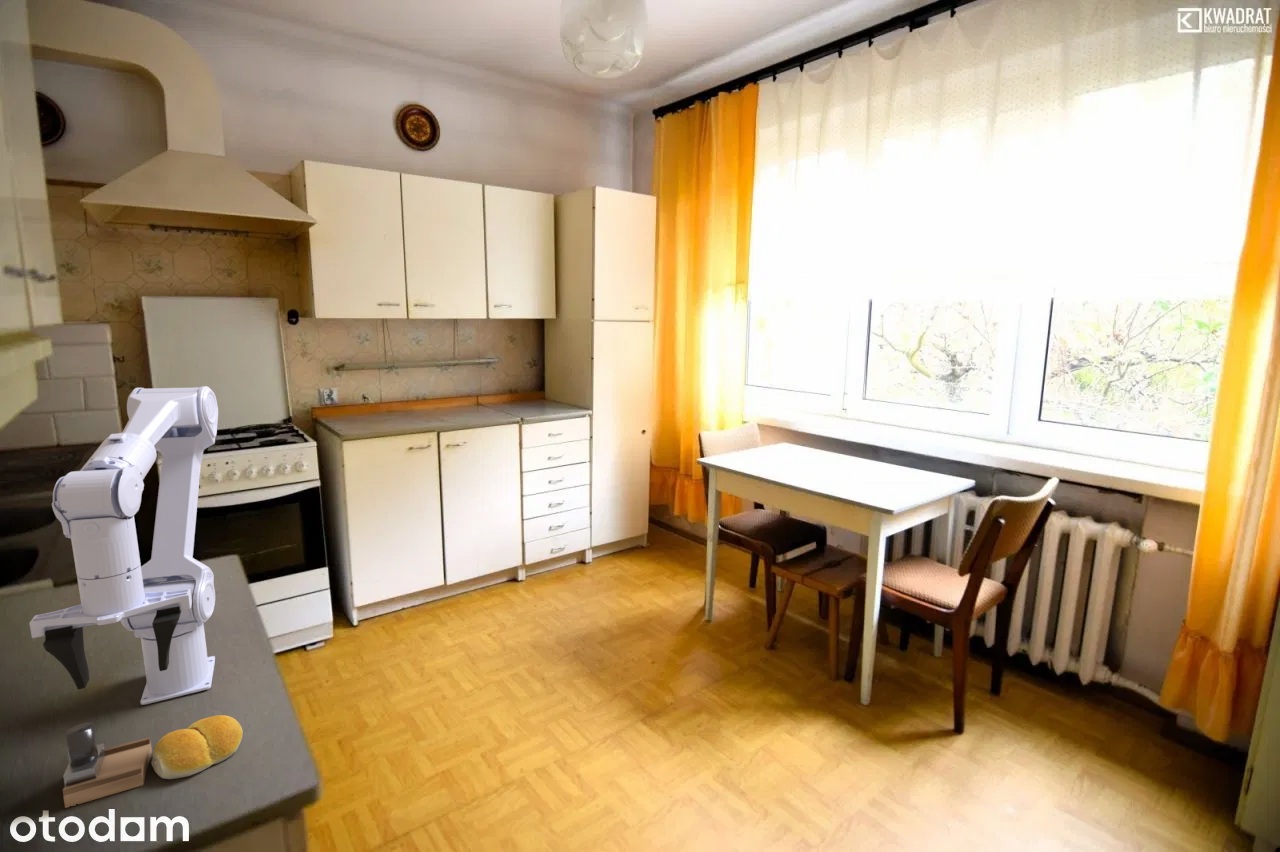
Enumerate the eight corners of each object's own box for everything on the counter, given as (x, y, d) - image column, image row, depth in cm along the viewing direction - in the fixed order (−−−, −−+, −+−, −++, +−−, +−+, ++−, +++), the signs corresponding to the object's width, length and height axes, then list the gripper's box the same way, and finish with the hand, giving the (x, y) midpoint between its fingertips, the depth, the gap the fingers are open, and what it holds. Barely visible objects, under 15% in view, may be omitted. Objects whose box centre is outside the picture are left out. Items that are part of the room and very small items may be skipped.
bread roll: (254, 748, 77) (251, 719, 77) (169, 791, 70) (165, 760, 69) (226, 722, 82) (223, 695, 81) (143, 761, 75) (139, 731, 74)
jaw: (76, 762, 72) (69, 721, 71) (105, 754, 73) (99, 714, 72) (65, 788, 68) (58, 745, 67) (96, 779, 69) (89, 737, 68)
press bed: (80, 771, 73) (77, 755, 72) (152, 751, 76) (149, 736, 76) (65, 808, 67) (62, 790, 67) (143, 785, 71) (140, 768, 70)
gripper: (12, 596, 66) (33, 712, 68) (181, 569, 73) (194, 674, 75) (34, 572, 72) (52, 679, 74) (188, 550, 79) (200, 648, 81)
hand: (125, 675), depth 75 cm, fingers open, 7 cm apart
